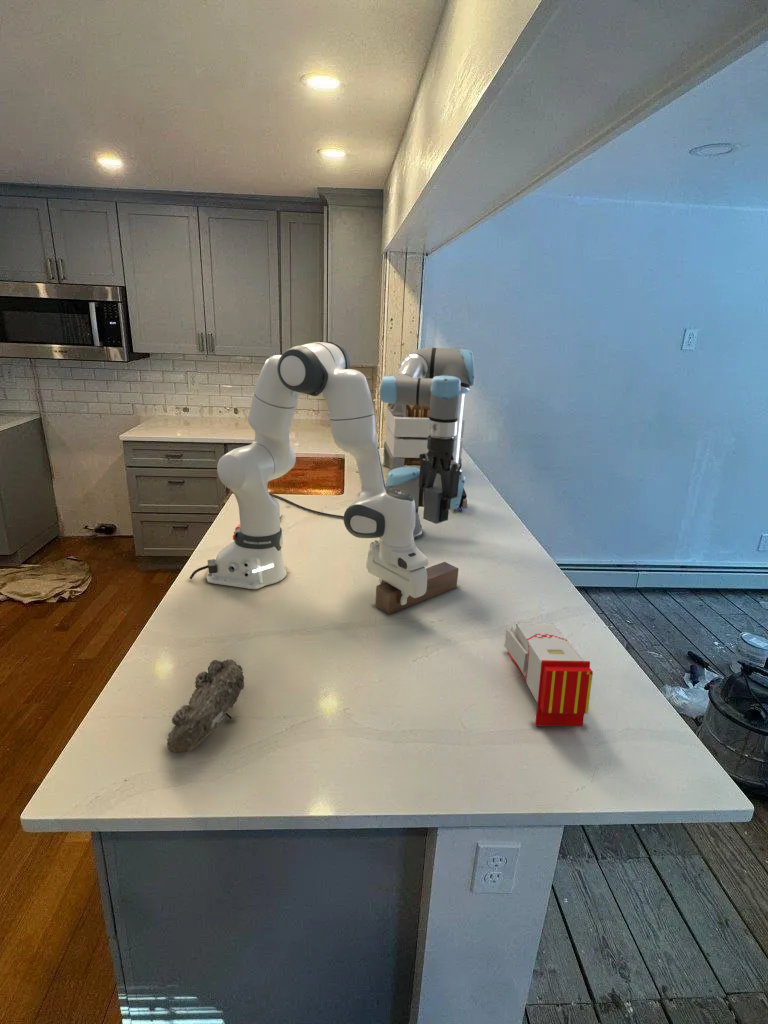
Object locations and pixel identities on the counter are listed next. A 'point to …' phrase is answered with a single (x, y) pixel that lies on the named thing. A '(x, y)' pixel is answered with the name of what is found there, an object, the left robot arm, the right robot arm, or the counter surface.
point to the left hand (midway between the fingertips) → (393, 598)
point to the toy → (551, 672)
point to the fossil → (206, 705)
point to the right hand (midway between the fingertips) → (435, 516)
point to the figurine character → (463, 501)
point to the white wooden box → (408, 435)
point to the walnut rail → (437, 583)
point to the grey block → (433, 504)
